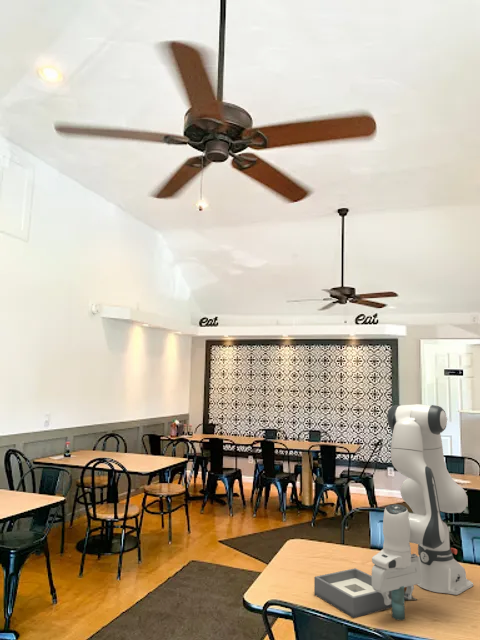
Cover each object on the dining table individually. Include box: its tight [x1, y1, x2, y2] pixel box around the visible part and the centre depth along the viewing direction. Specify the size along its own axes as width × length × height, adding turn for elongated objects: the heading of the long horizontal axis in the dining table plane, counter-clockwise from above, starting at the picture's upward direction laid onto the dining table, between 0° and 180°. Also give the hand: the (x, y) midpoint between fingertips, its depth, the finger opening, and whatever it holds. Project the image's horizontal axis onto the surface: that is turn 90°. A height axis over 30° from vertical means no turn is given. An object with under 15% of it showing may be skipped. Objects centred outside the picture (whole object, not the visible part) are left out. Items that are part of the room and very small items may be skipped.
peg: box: [391, 586, 406, 621], centre depth 154 cm, size 4×4×10 cm
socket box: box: [313, 567, 392, 619], centre depth 166 cm, size 20×20×6 cm
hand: (397, 601), depth 154 cm, fingers open, 8 cm apart
